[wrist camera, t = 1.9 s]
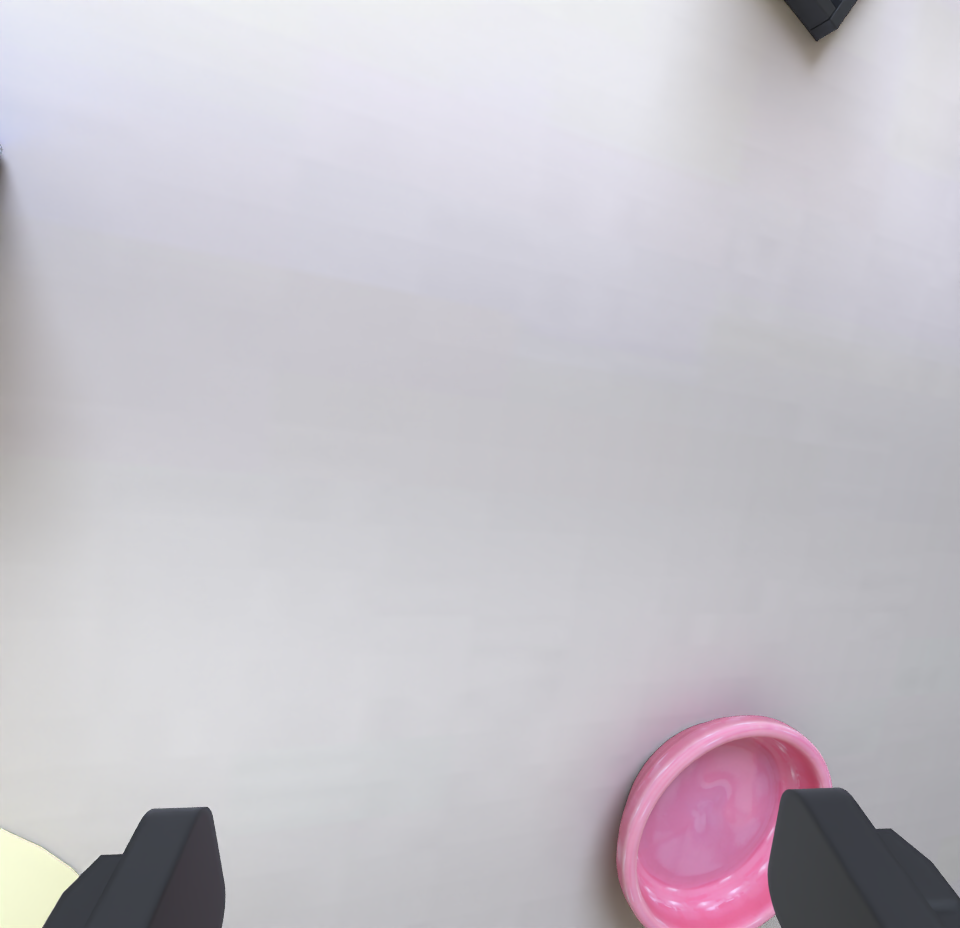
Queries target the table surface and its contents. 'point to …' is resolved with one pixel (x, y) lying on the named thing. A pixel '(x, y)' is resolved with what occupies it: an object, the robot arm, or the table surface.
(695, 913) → the saucer
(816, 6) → the tray
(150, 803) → the table surface
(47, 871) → the cone light
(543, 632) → the table surface
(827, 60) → the table surface
